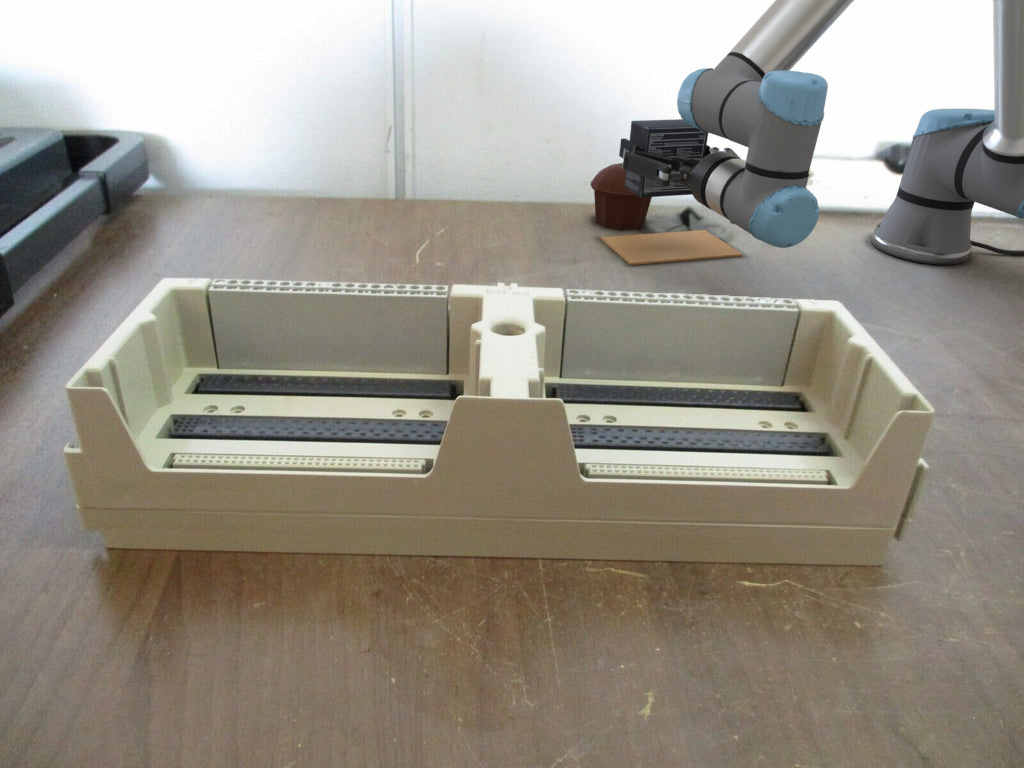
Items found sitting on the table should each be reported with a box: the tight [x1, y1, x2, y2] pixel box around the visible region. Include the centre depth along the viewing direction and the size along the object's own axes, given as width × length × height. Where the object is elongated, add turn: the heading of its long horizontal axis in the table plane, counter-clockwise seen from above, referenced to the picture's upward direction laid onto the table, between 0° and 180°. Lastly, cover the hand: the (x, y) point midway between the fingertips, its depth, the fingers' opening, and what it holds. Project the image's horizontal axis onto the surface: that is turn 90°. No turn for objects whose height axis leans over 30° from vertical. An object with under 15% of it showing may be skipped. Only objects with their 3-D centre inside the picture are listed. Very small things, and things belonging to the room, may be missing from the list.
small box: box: [624, 118, 709, 198], centre depth 118 cm, size 11×6×10 cm, turn 108°
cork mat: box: [600, 229, 743, 266], centre depth 127 cm, size 20×12×1 cm, turn 107°
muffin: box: [590, 162, 653, 231], centre depth 135 cm, size 12×11×10 cm
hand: (654, 146), depth 121 cm, fingers closed on small box, 10 cm apart
